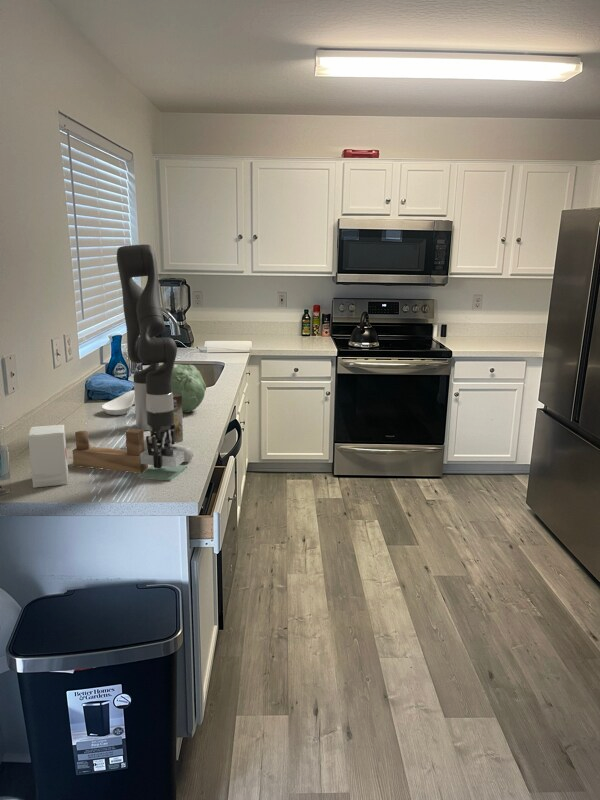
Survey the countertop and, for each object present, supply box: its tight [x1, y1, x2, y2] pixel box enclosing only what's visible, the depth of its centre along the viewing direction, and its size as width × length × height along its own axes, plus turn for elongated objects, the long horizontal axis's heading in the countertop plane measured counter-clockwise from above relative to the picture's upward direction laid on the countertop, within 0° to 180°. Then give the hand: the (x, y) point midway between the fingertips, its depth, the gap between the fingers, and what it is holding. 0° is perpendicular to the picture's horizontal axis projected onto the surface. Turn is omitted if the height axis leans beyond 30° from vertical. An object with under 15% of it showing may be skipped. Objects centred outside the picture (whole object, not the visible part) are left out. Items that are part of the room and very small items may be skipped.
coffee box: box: [149, 393, 184, 443], centre depth 195 cm, size 9×6×16 cm
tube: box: [125, 436, 194, 463], centre depth 182 cm, size 5×5×25 cm
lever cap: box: [140, 446, 185, 467], centre depth 168 cm, size 6×11×5 cm, turn 76°
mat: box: [137, 464, 188, 482], centre depth 169 cm, size 11×10×1 cm
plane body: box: [72, 428, 149, 474], centre depth 171 cm, size 4×22×12 cm, turn 77°
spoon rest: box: [101, 389, 135, 416], centre depth 236 cm, size 24×12×7 cm, turn 159°
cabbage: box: [172, 363, 207, 414], centre depth 232 cm, size 16×19×20 cm
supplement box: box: [27, 424, 69, 488], centre depth 160 cm, size 9×9×15 cm
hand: (162, 464), depth 168 cm, fingers closed on lever cap, 5 cm apart
